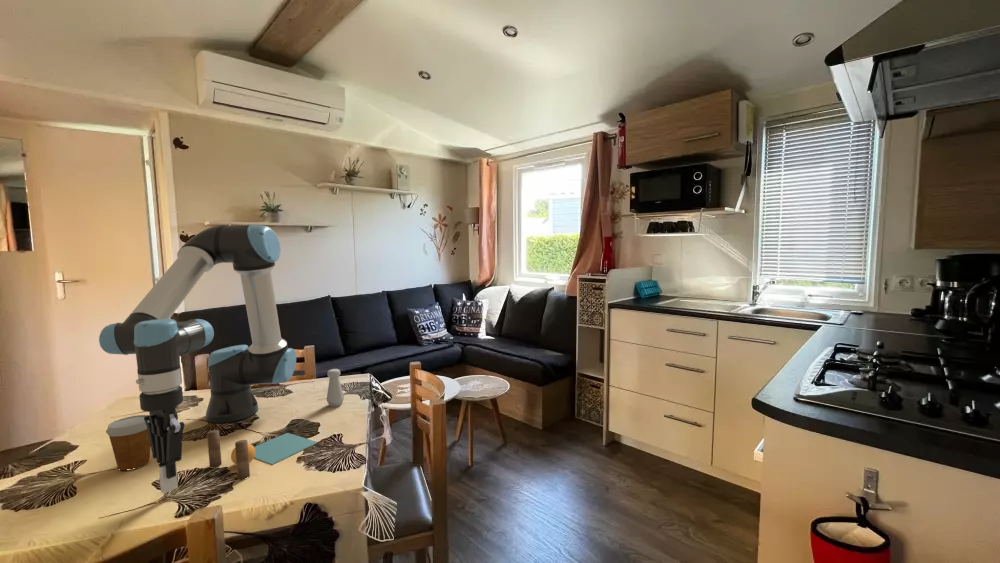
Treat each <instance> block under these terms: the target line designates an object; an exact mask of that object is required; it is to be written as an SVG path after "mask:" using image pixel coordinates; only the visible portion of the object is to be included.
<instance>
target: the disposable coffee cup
mask: <svg viewBox="0 0 1000 563" xmlns="http://www.w3.org/2000/svg"><path fill="white" fill-rule="evenodd" d="M148 415H149V414H140V415H139V414H137V415H131V416H127V417H123V418H120V419H117V420H114V421H112V422H110V423H109V424H108V425H107V429H106V430H105V433H106V434H107V436H108V438H109V440H110V444H111V447H112V452H113V456H114V458H115V462H116V466H117V470H118V469H120V470H127V469H133V468H138V467H140V468H142V467H141V466H143V467H145V466H146V465H148V464H149V463H150V460H151V459H150V458H151V445H150V440H149V435H148V430H147V426H146V423H145V420H144V417H145V416H148ZM148 462H149V463H148ZM147 463H148V464H147ZM144 465H145V466H144ZM138 469H139V468H138Z"/></svg>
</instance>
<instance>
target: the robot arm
mask: <svg viewBox="0 0 1000 563" xmlns="http://www.w3.org/2000/svg"><path fill="white" fill-rule="evenodd" d="M176 257H177V258H176V260H174V261H173V263H172V264H171V265H170V266H169V268H168V269H167V270H166V271H165V272H164V274H163V275H162V276H161V277H160V278H159V279H158V281H157V282H156V283H155V284H154V285H153V287H152V288H151V289H150V290H149V291H148V292H147V294H146V295H145V296H144V297H143V298H142V300H140V302H139V303H138V304H137V305H136V307H135V308H134V309H133V310H132V312H130V314H129V316H127V318H125V319H124V321H123V322H115V323H110V324H108V325H106V326H104V327H103V328H102V330H101V331H100V333H99V336H98V342H99V347H100V348H101V349H102V350H103V351H104V352H105V353H107V354H109V355H124V356H128V355H135V359H136V367H137V379H136V380H135V383H136V384H137V385H138V389H139V392H140V393H139V407H140V410H142V411H143V412H148V414H147V415H148V416H145V417H144V420H145V423H146V426H147V430H148V435H149V440H150V445H151V447H150V451H151V455H152V458H153V459H156V462H157V464H158V472H159V482H160V484H159V485H160V493H162V494H167V493H169V492H172V491H174V490H176V489H178V488H179V483H178V473H177V462H179V461H181V460H182V450H183V435H184V434H183V432H184V428H185V423H184V421H180V422H179V421H178V419H179V417H178V416H179V415H178V413H177V410H176V408H177V407H178V406H179V405H181V404H182V403H183V401H184V394H183V386H181V385H182V384H183V379H182V378H183V377H182V367H181V361H180V360H181V359H180V357H181V356H185V355H186V354H189V353H192V352H196V351H199V350H201V349H203V348H204V347H206V346H208V345H209V344H211V342H212V341H213V339H214V336H215V331H214V328H213V326H212V325H211V323H210V322H209V321H207V320H204V319H202V318H201V319H200V318H195V319H189V320H185V321H176V320H175V319H174V318H173V319H172V316H173V315H174V314H175V312H176V311H177V309H179V307H180V306H181V304H182V303H183V301H184V300H185V299H186V298H187V296H188V295H189V294H190V292H191V291H192V290H193V288H194V286H195V285H196V284H197V283H198V281H199V280H200V279H201V277H202V276H203V275H204V273H205V272H207V273H208V272H209V271H210V270H212V269H213V268H214V266H216V265H218V264H223V263H225V264H227V263H228V264H229V263H230V264H231V263H232V266H233V271H234V272H236V273H237V274H238V275H239V276H240V280H241V281H240V282H241V286H242V291H243V292H242V293H243V297H244V303H245V308H246V313H247V319H248V325H249V326H248V327H249V332H250V336H251V342H252V343H251V345H247V344H239V345H238V344H237V345H233V346H232V345H231V346H228V347H224V348H220V349H217V350H214V351H212V352H211V353H210V354H209V355H208V361H207V367H208V376H209V388H210V398H209V401H208V404H207V409H206V411H205V419H206V420H205V421H206V422H208V423H212V424H219V423H220V424H222V423H231V422H236V421H241V420H244V419H246V418H249V417H251V416H253V415H255V414H256V413H257V412H258V410H259V402H258V401H257V399H256V397H255V395H254V392H253V391H252V385H272V384H273V385H277V384H283V383H284V384H285V383H287V382H288V381H290V379H291V378H292V376H293V375H294V373H295V369H296V364H297V352H296V351H295V349H294V348H291V347H288V342H287V340H286V339H284V338H282V335H281V334H282V333H281V328H280V322H279V316H278V308H277V303H276V296H275V291H274V284H273V277H272V270H273V269H274V267H275V266H276V262H277V261H278V260H279V259H280V257H281V243H280V241H279V237H278V235H277V234H276V232H275V231H274V230H273V229H272V228H271V227H269V226H267V225H261V224H259V225H258V224H238V225H237V224H236V225H233V224H232V225H231V224H230V225H216V226H211V227H209V228H206V229H204V230H202V231H200V232H198V233H197V234H195V235H194V236H193V237H190V239H189V240H187V241H186V242H185V243H184V244H183V245H182V246H181V247H180V248H179V250H178V251H177V253H176Z"/></svg>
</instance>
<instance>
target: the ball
mask: <svg viewBox="0 0 1000 563" xmlns="http://www.w3.org/2000/svg"><path fill="white" fill-rule="evenodd" d="M254 447H255V446H254V445H253V444H251V443H249V442H248V457H249V464H250V463H251V462H252V461H253V460H254V459H255V458H254V457H255V448H254ZM230 458H231V461H232V463H234V464H235V465H236V466H237V463H236V449H235V447H234V448H233V449H232V451H231V454H230Z"/></svg>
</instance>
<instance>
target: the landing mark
mask: <svg viewBox="0 0 1000 563" xmlns="http://www.w3.org/2000/svg"><path fill="white" fill-rule="evenodd" d="M318 443H319V441H315V440H312V439H309V438H306V437H302V436H299V435H296V434H292V433H289V432H286V433H284V434H282V435H279V436H276V437H274V438H272V439H269V440H267V441H265V442H263V443H260V444H258V445H255V446H254V448H255V457H254V459H256V460H258V461H261V462H264V463H266V464H269V465H271V466H272V465H275V464H276V463H279V462H281V461H283V460H285V459H288V458H290V457H292V456H294V455H296V454H298V453H300V452H302V451H304V450H306V449H309V448H310V447H312V446H314V445H317V444H318Z"/></svg>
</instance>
